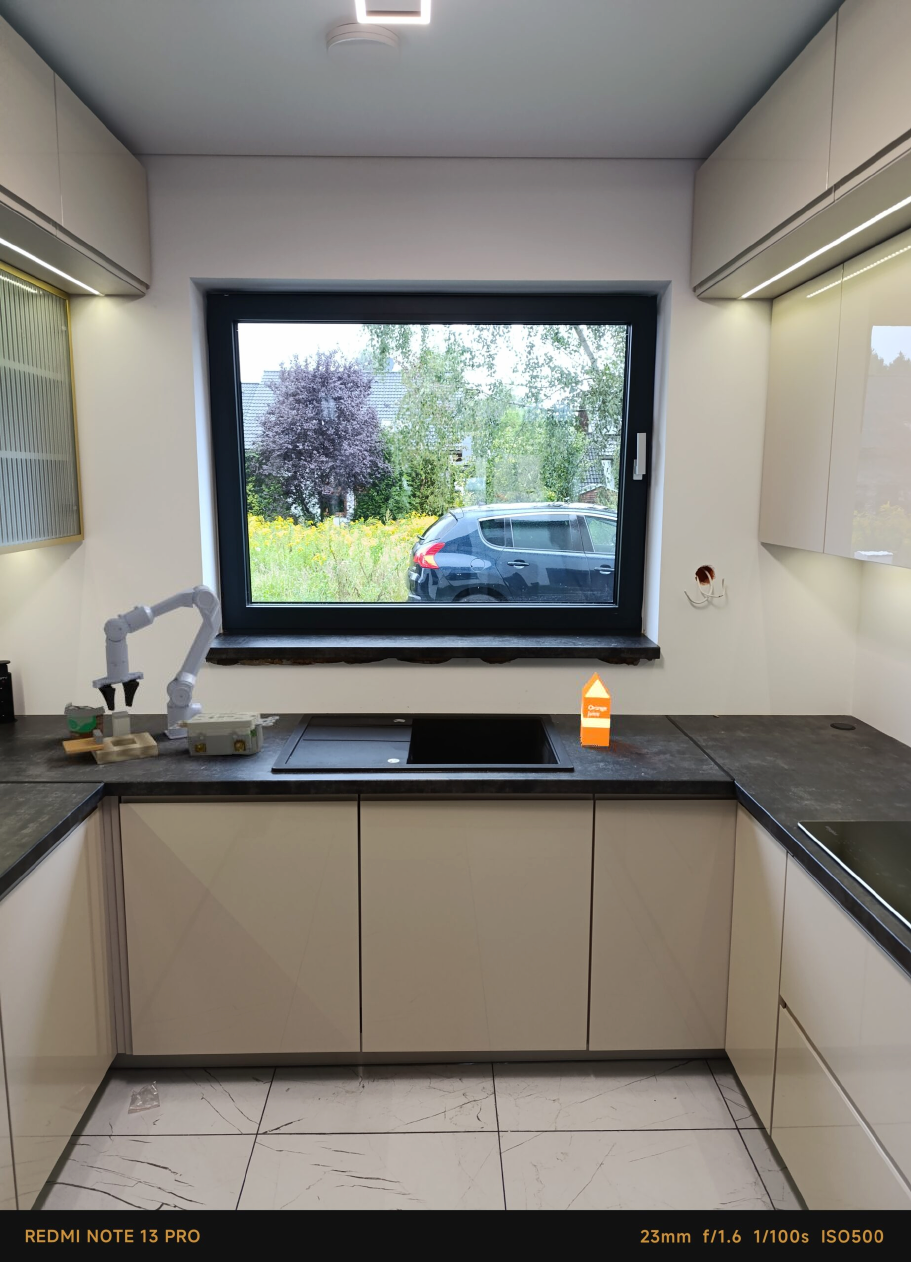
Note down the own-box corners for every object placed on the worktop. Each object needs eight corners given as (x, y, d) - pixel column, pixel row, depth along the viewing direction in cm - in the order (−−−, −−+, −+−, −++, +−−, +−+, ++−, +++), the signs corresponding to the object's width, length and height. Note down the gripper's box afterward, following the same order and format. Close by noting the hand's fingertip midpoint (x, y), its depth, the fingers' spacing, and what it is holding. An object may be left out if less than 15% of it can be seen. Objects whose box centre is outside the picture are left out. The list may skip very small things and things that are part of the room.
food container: (55, 741, 237) (53, 707, 235) (72, 735, 243) (69, 702, 241) (91, 746, 233) (89, 711, 232) (107, 740, 239) (104, 706, 237)
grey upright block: (128, 737, 242) (126, 710, 240) (130, 741, 238) (129, 714, 237) (113, 739, 240) (111, 712, 238) (115, 743, 236) (114, 715, 235)
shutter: (99, 739, 228) (98, 728, 228) (104, 748, 221) (103, 736, 220) (62, 744, 224) (62, 732, 223) (67, 753, 216) (66, 741, 216)
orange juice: (606, 738, 246) (609, 672, 242) (609, 748, 237) (612, 679, 234) (579, 737, 246) (582, 671, 243) (581, 747, 238) (583, 678, 234)
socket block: (148, 742, 237) (147, 732, 237) (157, 755, 226) (157, 744, 226) (90, 750, 230) (90, 739, 229) (98, 764, 219) (97, 753, 218)
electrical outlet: (272, 757, 224) (269, 721, 222) (168, 761, 226) (164, 725, 224) (284, 743, 236) (280, 709, 234) (184, 747, 238) (180, 713, 236)
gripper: (101, 667, 227) (104, 716, 229) (148, 658, 238) (151, 705, 241) (87, 664, 231) (90, 711, 233) (134, 655, 242) (136, 701, 245)
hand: (120, 708), depth 237 cm, fingers open, 5 cm apart
